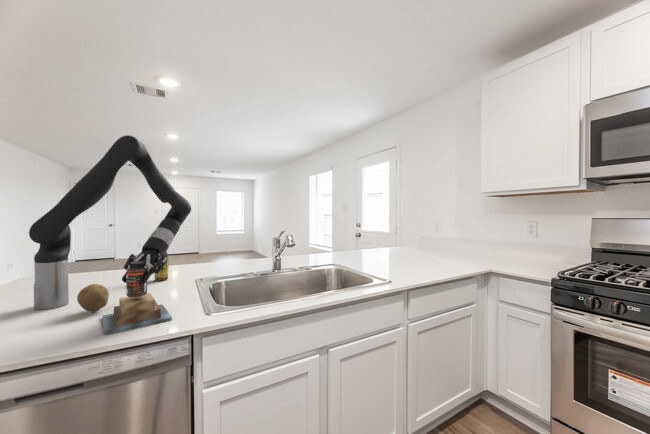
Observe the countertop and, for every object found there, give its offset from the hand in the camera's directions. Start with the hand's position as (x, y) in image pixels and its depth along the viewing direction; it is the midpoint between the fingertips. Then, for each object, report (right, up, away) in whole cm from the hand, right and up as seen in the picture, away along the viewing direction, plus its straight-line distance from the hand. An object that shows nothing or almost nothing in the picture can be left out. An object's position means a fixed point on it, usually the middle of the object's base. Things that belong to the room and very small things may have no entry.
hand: (132, 282), depth 93 cm
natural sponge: (-20, -13, +9) cm, 25 cm away
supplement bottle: (0, -5, +2) cm, 5 cm away
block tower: (0, -13, +2) cm, 13 cm away
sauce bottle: (-21, -11, +53) cm, 59 cm away
